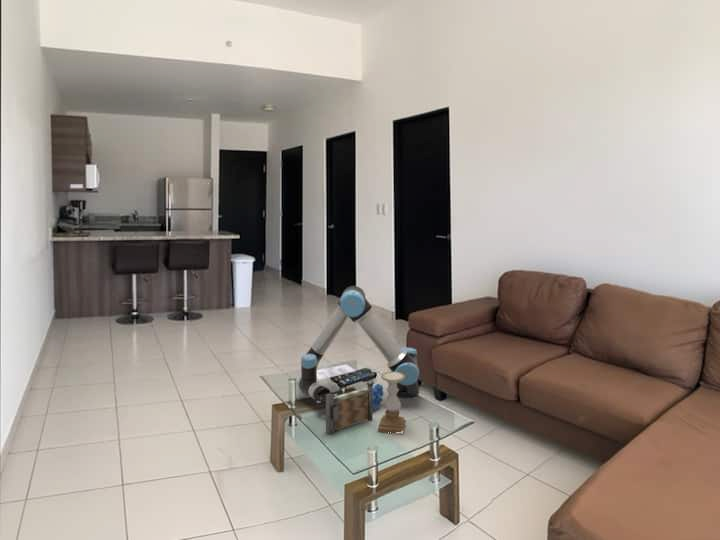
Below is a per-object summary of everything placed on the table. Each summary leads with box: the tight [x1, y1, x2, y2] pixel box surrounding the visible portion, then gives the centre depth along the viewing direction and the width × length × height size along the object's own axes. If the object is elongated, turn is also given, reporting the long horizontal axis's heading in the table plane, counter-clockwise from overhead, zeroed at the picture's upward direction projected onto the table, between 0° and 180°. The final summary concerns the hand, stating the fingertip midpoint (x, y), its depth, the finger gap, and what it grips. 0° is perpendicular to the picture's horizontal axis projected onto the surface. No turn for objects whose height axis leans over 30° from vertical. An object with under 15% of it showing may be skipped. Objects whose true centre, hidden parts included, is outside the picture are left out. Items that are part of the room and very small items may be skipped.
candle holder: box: [377, 371, 407, 434], centre depth 228 cm, size 11×11×24 cm
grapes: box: [373, 383, 385, 412], centre depth 248 cm, size 12×7×12 cm, turn 151°
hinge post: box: [366, 380, 375, 422], centre depth 236 cm, size 3×3×18 cm
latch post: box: [325, 392, 339, 435], centre depth 223 cm, size 4×4×17 cm
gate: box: [334, 387, 369, 432], centre depth 230 cm, size 18×2×14 cm, turn 127°
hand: (348, 410), depth 230 cm, fingers closed
